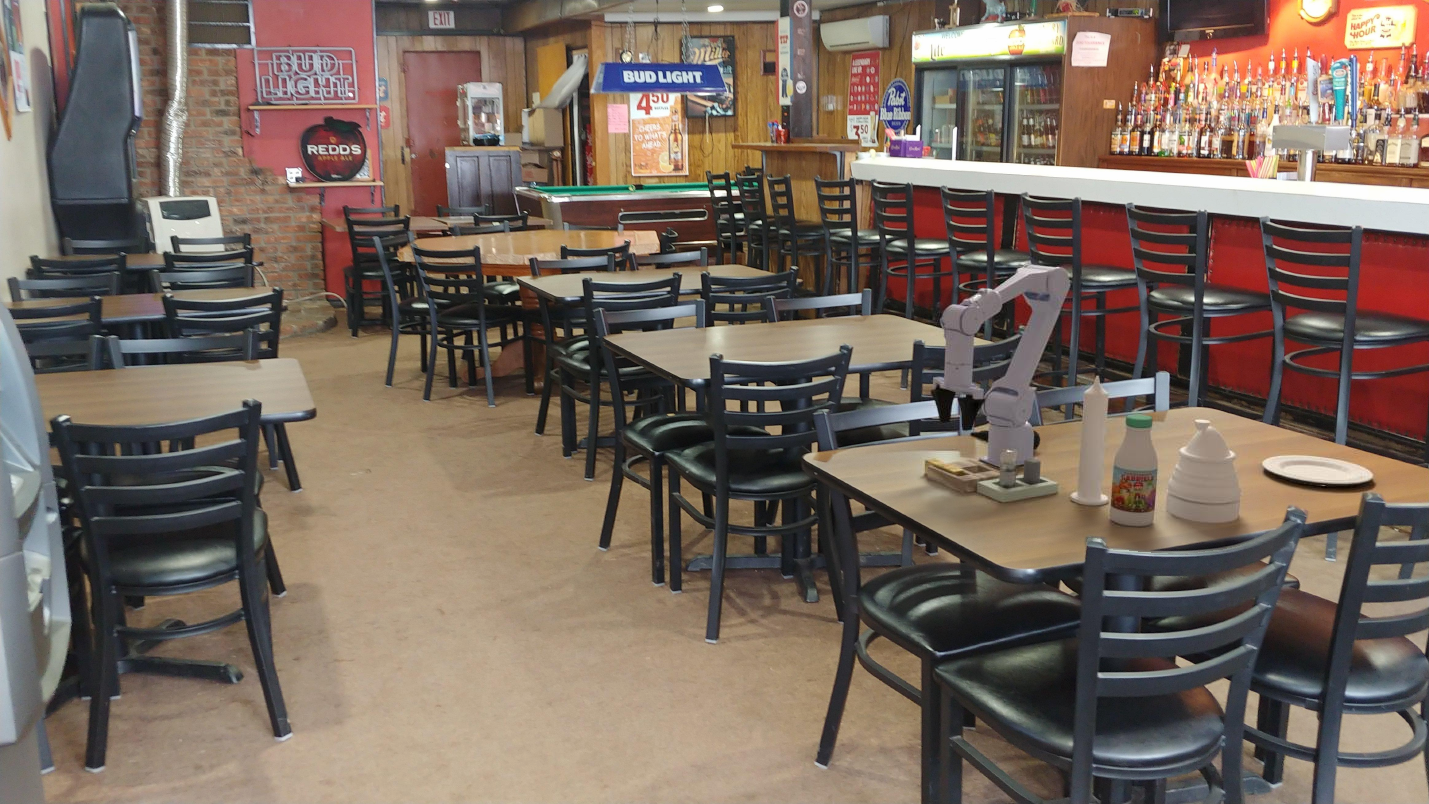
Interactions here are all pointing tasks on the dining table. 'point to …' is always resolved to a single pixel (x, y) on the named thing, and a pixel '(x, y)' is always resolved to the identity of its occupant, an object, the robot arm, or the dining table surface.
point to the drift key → (943, 467)
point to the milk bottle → (1135, 475)
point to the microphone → (985, 436)
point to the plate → (1317, 470)
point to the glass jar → (1008, 468)
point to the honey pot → (1205, 479)
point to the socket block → (964, 475)
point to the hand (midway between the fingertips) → (955, 426)
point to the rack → (1020, 485)
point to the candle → (1092, 447)
